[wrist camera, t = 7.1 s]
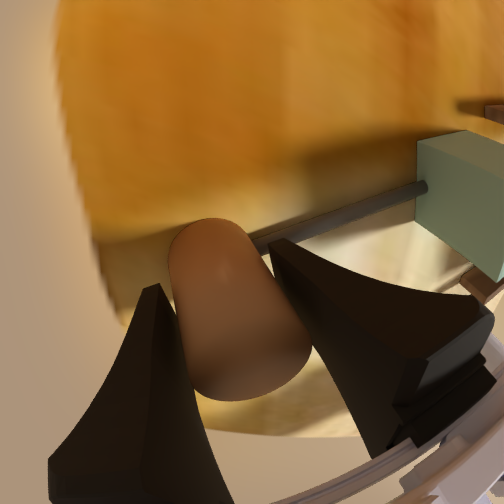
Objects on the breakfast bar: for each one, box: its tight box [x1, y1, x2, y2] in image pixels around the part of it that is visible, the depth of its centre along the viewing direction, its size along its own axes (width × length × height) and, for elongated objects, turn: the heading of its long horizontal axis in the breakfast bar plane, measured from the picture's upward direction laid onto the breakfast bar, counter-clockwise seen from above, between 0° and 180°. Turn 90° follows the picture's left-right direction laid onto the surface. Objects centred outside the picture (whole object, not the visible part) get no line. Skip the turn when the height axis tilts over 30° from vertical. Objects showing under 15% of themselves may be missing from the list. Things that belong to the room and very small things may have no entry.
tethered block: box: [168, 130, 504, 401], centre depth 11 cm, size 4×17×6 cm, turn 103°
